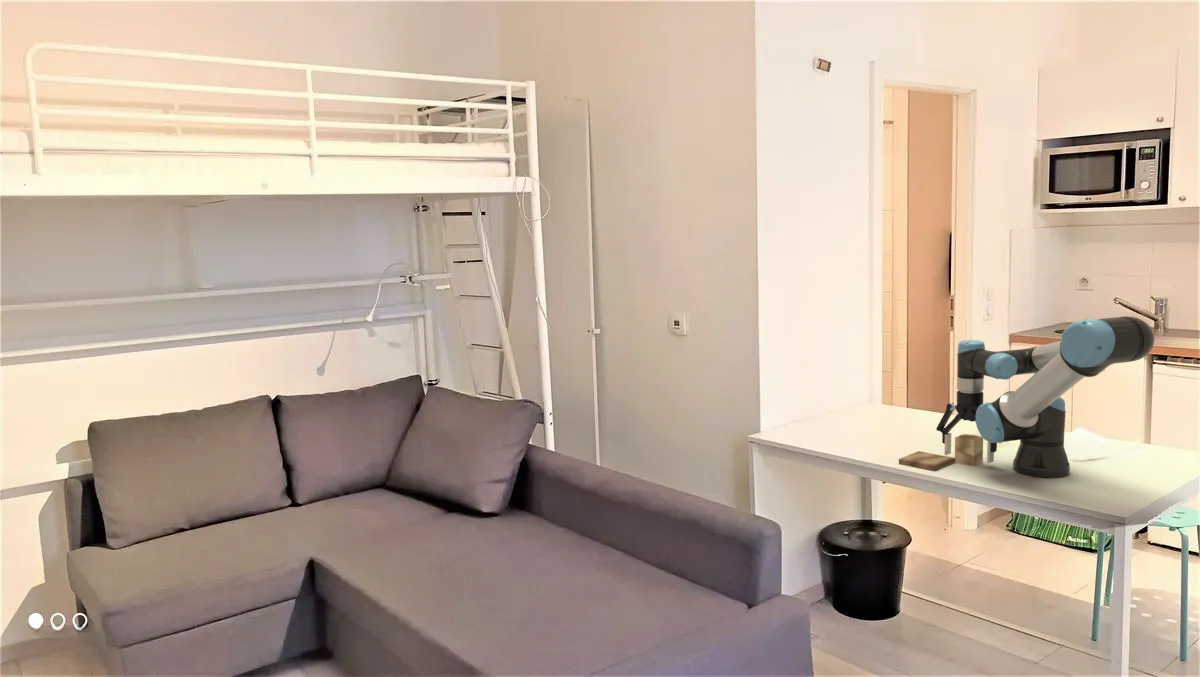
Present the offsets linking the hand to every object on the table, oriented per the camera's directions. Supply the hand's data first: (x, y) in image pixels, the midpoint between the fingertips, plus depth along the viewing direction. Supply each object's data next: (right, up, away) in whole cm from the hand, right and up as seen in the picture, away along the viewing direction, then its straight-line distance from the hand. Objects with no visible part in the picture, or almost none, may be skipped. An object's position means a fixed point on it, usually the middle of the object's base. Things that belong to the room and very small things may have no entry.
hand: (968, 458), depth 273 cm
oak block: (0, -1, 0) cm, 1 cm away
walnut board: (-13, -2, +1) cm, 13 cm away
